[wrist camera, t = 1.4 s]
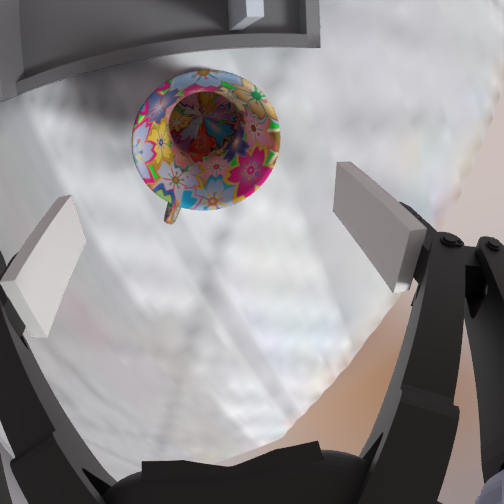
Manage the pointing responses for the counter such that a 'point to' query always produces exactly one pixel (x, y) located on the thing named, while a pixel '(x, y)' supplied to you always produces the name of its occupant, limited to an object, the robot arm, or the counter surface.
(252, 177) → the mug
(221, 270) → the counter surface
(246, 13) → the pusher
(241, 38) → the grey tray
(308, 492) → the robot arm
